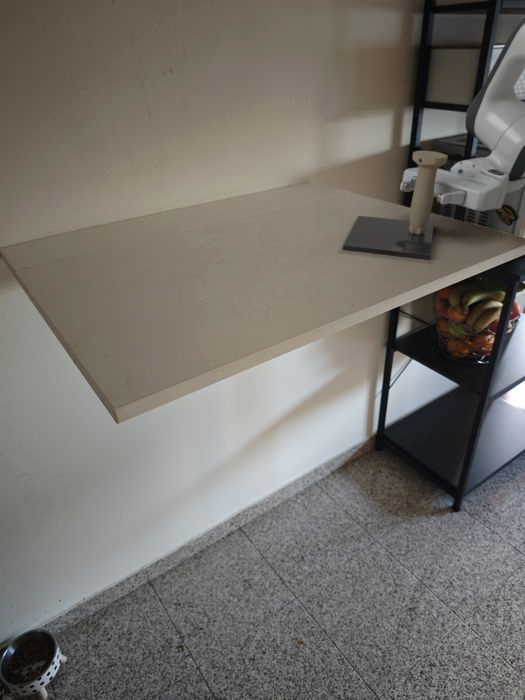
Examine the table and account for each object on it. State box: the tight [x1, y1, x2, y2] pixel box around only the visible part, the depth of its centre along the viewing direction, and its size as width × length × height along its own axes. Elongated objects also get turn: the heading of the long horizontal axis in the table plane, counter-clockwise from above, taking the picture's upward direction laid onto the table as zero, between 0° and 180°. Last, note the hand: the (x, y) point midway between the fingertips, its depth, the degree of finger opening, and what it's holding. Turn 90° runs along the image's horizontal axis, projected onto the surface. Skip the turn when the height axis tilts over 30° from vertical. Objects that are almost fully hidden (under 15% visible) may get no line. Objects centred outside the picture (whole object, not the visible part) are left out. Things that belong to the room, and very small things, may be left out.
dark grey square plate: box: [342, 215, 435, 261], centre depth 100 cm, size 16×18×1 cm
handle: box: [409, 150, 449, 235], centre depth 96 cm, size 5×6×15 cm
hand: (420, 193), depth 95 cm, fingers open, 8 cm apart
